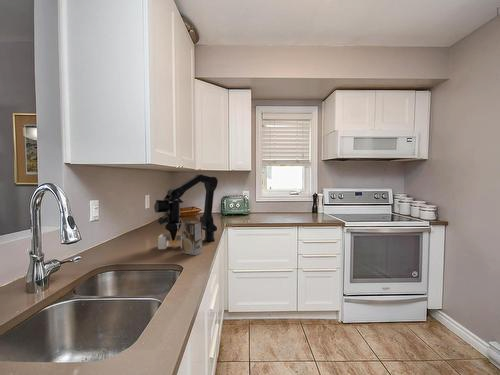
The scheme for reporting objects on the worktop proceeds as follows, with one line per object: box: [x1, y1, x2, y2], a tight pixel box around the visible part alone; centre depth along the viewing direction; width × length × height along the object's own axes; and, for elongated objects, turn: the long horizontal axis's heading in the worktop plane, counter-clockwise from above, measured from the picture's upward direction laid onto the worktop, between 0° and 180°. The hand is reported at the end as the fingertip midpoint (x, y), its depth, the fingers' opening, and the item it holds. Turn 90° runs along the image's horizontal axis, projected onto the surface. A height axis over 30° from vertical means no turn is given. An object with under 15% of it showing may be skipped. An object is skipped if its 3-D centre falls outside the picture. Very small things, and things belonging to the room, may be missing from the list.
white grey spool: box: [157, 233, 182, 250], centre depth 144 cm, size 16×7×7 cm, turn 97°
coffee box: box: [181, 220, 203, 256], centre depth 134 cm, size 9×6×16 cm
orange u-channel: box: [169, 231, 179, 244], centre depth 144 cm, size 7×3×7 cm, turn 7°
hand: (174, 238), depth 144 cm, fingers closed on orange u-channel, 7 cm apart
